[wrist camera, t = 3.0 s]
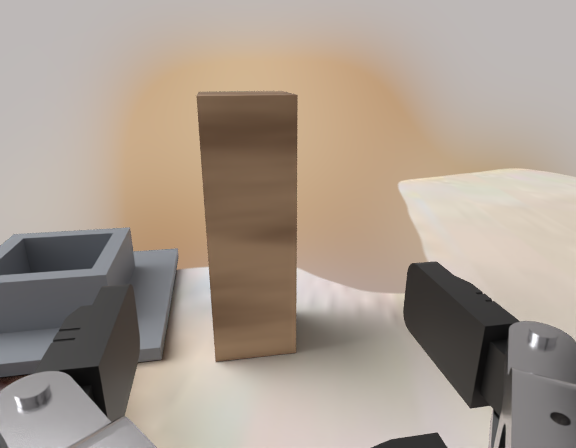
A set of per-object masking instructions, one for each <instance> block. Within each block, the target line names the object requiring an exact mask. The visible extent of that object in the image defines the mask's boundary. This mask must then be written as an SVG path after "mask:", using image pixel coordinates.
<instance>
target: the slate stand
mask: <svg viewBox="0 0 576 448" xmlns="http://www.w3.org/2000/svg"><path fill="white" fill-rule="evenodd" d="M177 263H178V249H165V250H149V251H134V252H133V246H132V239H131V231H130V228H113V229H97V230H79V231H62V232H45V233H28V234H14V235H12V236H11V237H10V238H9V239H8V240H6V241H5V242H4V243H3V244H2V245H0V377H7V376H16V375H25V374H33V373H34V371H35V369H36V367H37V366H38V364H39V362H40V361H41V359H42V357H43V356H44V354H45V352H46V351H47V349H48V347H49V346H50V344H51V343H53V339H54V337H55V335H56V334H57V332H59V329H60V327H61V325H62V324H63V322H64V320H65V318H66V317H67V316H69V315H70V314H71V313H72V312H74V311H75V310H76V309H78V308H79V307H80V306H87V305H92V304H93V302H94V300H95V299H96V297H97V295H98V293H99V291H100V289H101V287H102V286H112V285H125V284H132V286H133V289H134V295H135V303H136V310H137V318H138V326H139V333H140V354H139V359H138V362H144V361H153V360H162V355H163V348H164V342H165V336H166V330H167V324H168V318H169V312H170V305H171V299H172V293H173V287H174V281H175V275H176V269H177Z"/></svg>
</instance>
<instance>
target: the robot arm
mask: <svg viewBox="0 0 576 448" xmlns="http://www.w3.org/2000/svg"><path fill="white" fill-rule="evenodd" d="M403 312H404V320H405V324H406V326H407V328H408V330H409V332H410V333H411V334H412V335H413V337H414V338H415V339H416V340H417V342H418V343H419V344H420V345H421V347H422V348H423V349H424V350H425V352H426V353H427V354H428V356H429V357H430V358H431V359H432V361H433V362H434V363H435V364H436V366H437V367H438V368H439V369H440V371H441V372H442V373H443V374H444V376H445V377H446V378H447V380H448V381H449V382H450V383H451V385H452V386H453V387H454V388H455V390H456V391H457V392H458V393H459V395H460V396H461V397H462V398H463V400H464V401H465V402H466V404H467V405H468V406H469V407H470V408H477V407H484V406H491V407H492V408H493V411H492V416H491V421H490V434H489V447H488V448H576V342H575V340H574V339H573V338H572V337H571V336H569V335H568V334H567V333H565V332H563V331H562V330H560V329H558V328H555V327H553V326H550V325H547V324H543V323H539V322H532V321H521V322H520V321H519V320H517V319H516V318H515V317H514V316H512V315H511V314H510V313H508V312H507V311H506V310H505V309H503V308H502V307H501V306H499V305H498V304H497V303H496V302H494V301H493V302H492V299H491V298H489V297H488V296H487V295H485V294H483V293H482V291H480V290H479V289H478V288H477V287H475V286H474V285H473V284H471V283H470V282H467V281H465V280H463V279H461V278H458V277H456V276H454V275H453V274H452V273H450V272H449V271H448V270H447V269H445V268H444V267H443V266H442V265H440V264H439V263H438V262H424V263H412V264H411V265H410V266H409V268H408V272H407V281H406V291H405V300H404V311H403ZM139 354H140V333H139V326H138V318H137V310H136V303H135V295H134V289H133V286H132V284H125V285H112V286H102V287H101V289H100V291H99V293H98V295H97V297H96V299H95V300H94V302H93V304H92V305H87V306H80V307H79V308H78V309H76V310H75V311H74V312H72V313H71V314H70V315H69V316H67V317H66V318H65V320H64V322H63V324H62V325H61V327H60V329H59V332H57V334H56V335H55V337H54V339H53V343H51V344H50V346H49V347H48V349H47V351H46V352H45V354H44V356H43V357H42V359H41V361H40V362H39V364H38V366H37V367H36V369H35V371H34V373H33V374H32V375H29V376H26V377H23V378H21V379H19V380H17V381H15V382H13V383H12V384H10V385H8V386H7V387H5V388H4V389H3V390H2V391H1V392H0V448H157V447H156V446H155V445H154V444H153V443H152V442H151V441H150V440H149V439H148V438H147V437H146V436H145V435H144V434H143V433H142V432H141V431H140V430H139V429H138V427H137V426H136V425H135V424H134V423H133V422H132V421H131V420H130V419H128V418H127V417H125V412H126V408H127V404H128V400H129V396H130V392H131V388H132V384H133V380H134V376H135V372H136V367H137V363H138V359H139ZM372 448H447V446H446V445H445V443H444V442H443V440H442V439H441V437H440V436H439V434H438V433H431V434H424V435H418V436H411V437H404V438H397V439H391V440H388V441H386V442H384V443H381V444H379V445H377V446H374V447H372Z"/></svg>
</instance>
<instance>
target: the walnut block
mask: <svg viewBox="0 0 576 448" xmlns="http://www.w3.org/2000/svg"><path fill="white" fill-rule="evenodd" d="M197 107H198V122H199V136H200V150H201V164H202V178H203V192H204V205H205V219H206V233H207V246H208V261H209V275H210V289H211V303H212V317H213V331H214V345H215V359H216V362H218V361H227V360H235V359H244V358H253V357H262V356H271V355H280V354H289V353H296V263H297V262H296V261H297V253H296V252H297V95H295V94H291V93H288V92H283V91H237V92H236V91H234V92H233V91H231V92H199V93H198V94H197Z"/></svg>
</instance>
